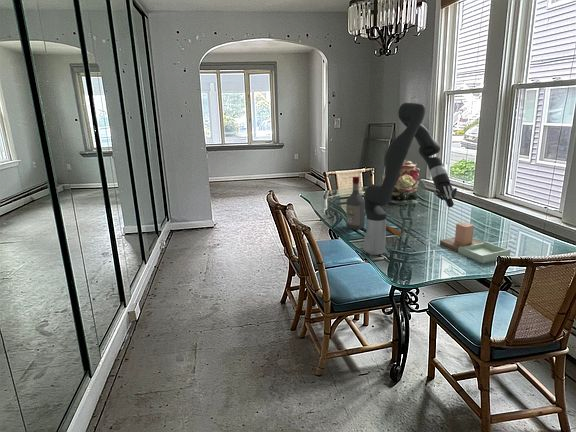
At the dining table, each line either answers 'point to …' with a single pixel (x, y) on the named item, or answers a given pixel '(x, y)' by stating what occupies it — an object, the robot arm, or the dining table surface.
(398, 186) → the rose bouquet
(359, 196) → the liquor
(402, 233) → the primitive tool
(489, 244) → the tray
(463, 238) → the salmon-coloured block
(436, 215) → the dining table surface
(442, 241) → the board
